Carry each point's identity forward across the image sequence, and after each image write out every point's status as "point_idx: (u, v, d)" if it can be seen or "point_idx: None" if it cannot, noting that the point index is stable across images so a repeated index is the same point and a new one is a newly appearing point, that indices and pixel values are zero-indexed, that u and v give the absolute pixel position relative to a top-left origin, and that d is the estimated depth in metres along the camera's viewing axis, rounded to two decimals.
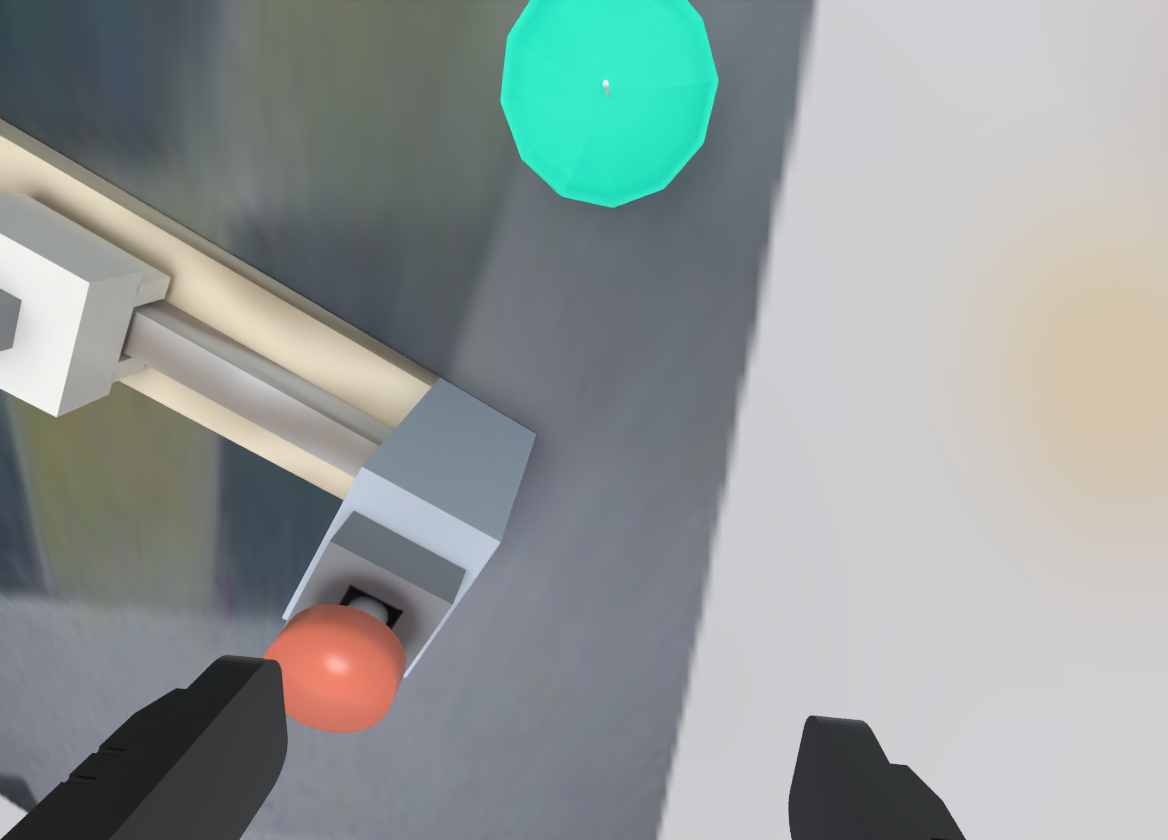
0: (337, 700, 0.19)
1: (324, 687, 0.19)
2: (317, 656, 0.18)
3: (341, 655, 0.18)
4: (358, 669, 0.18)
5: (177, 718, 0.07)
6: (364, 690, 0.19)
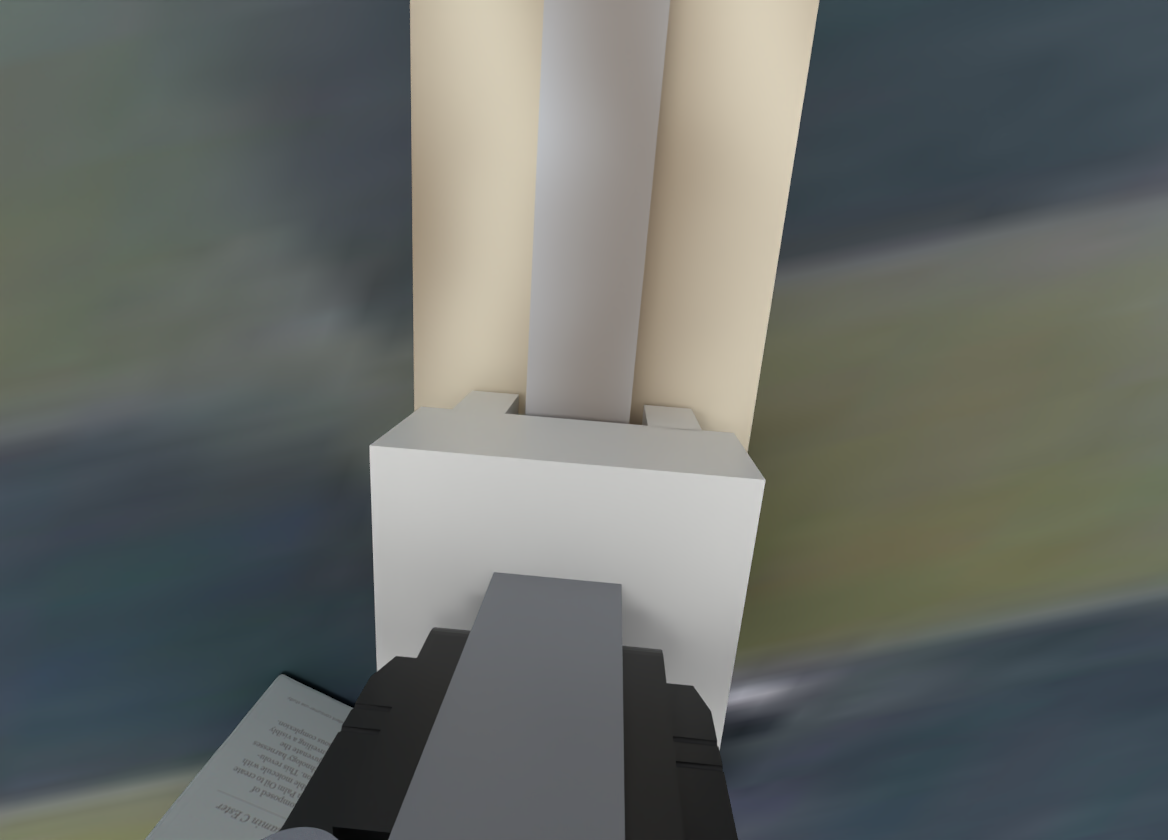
0: None
1: None
2: None
3: None
4: None
5: (424, 678, 0.08)
6: None
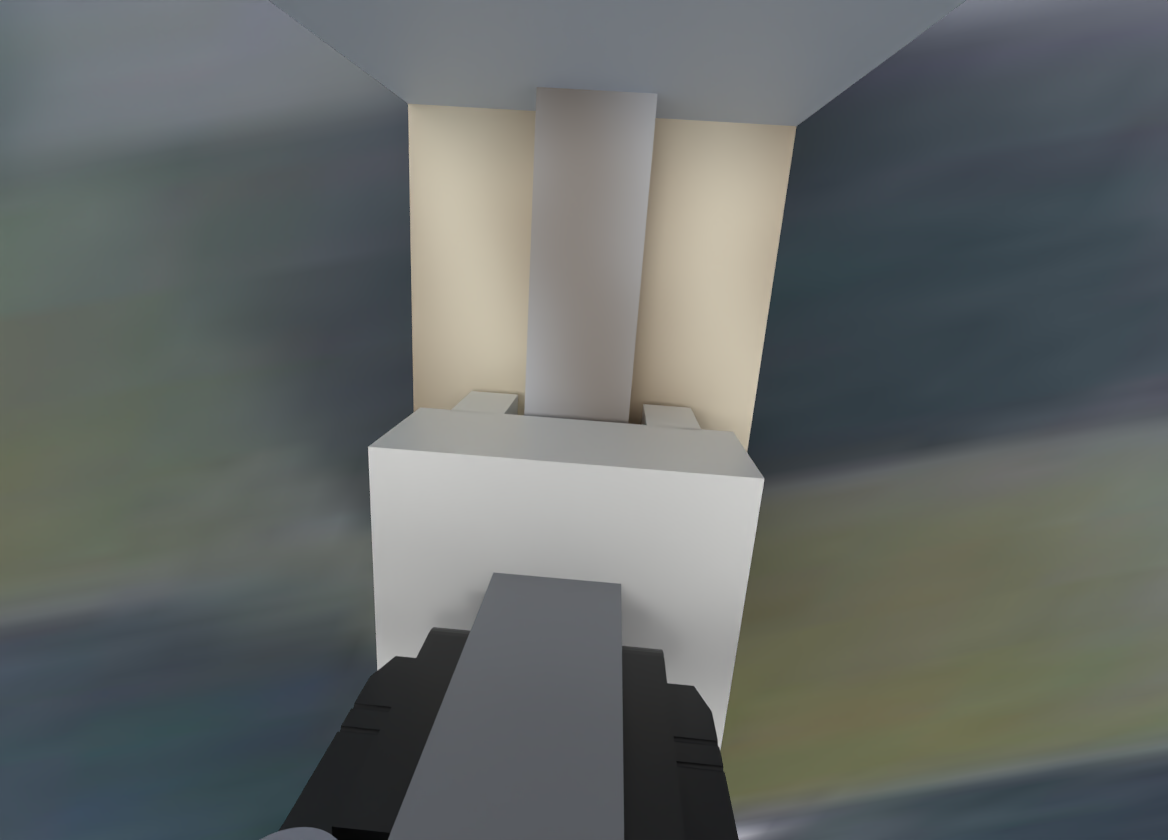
0: None
1: None
2: None
3: None
4: None
5: (424, 678, 0.08)
6: None
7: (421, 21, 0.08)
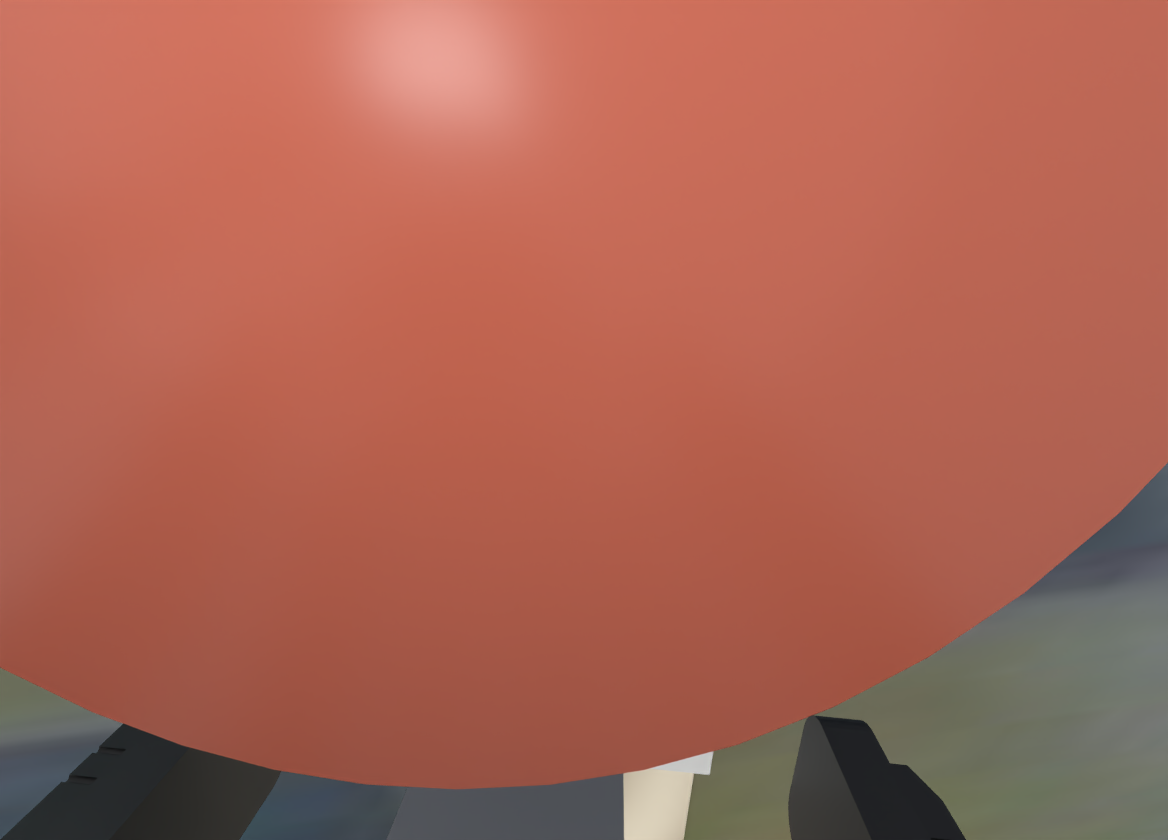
0: None
1: None
2: None
3: None
4: None
5: None
6: None
7: None
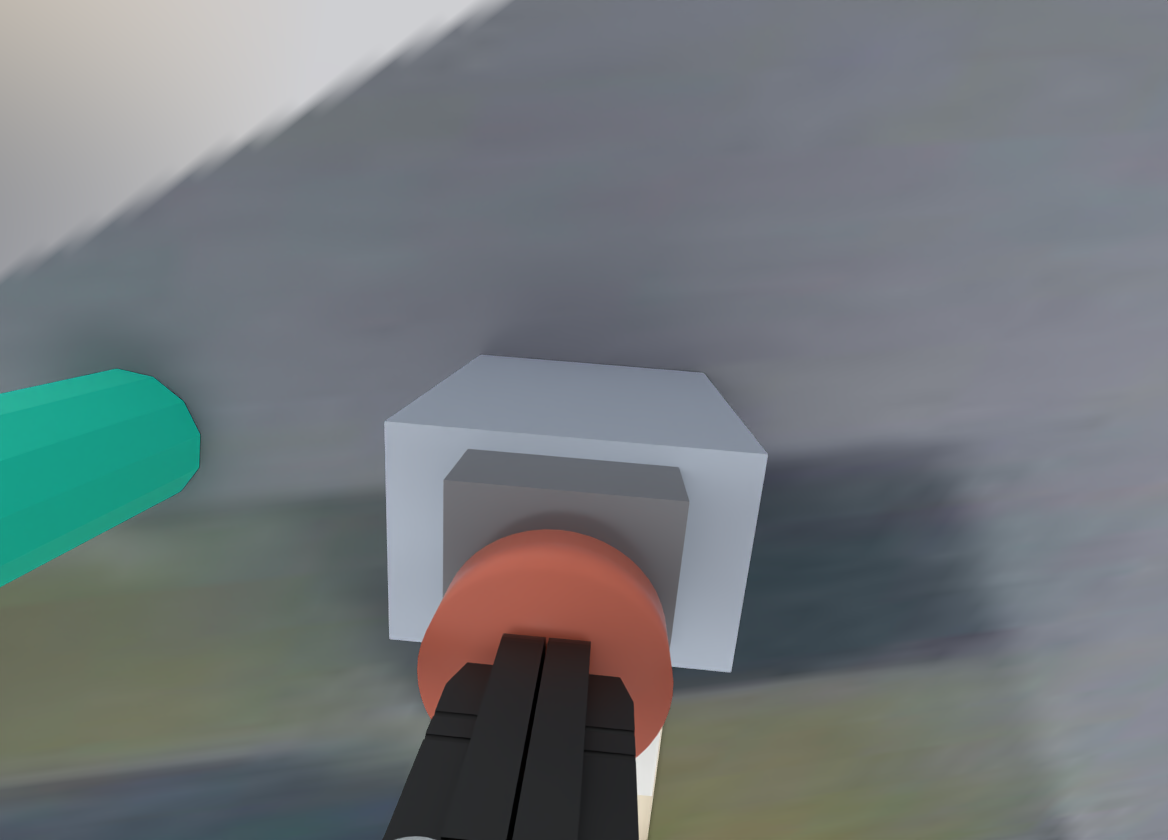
0: None
1: None
2: None
3: None
4: (466, 645, 0.10)
5: (505, 685, 0.08)
6: (511, 621, 0.09)
7: None
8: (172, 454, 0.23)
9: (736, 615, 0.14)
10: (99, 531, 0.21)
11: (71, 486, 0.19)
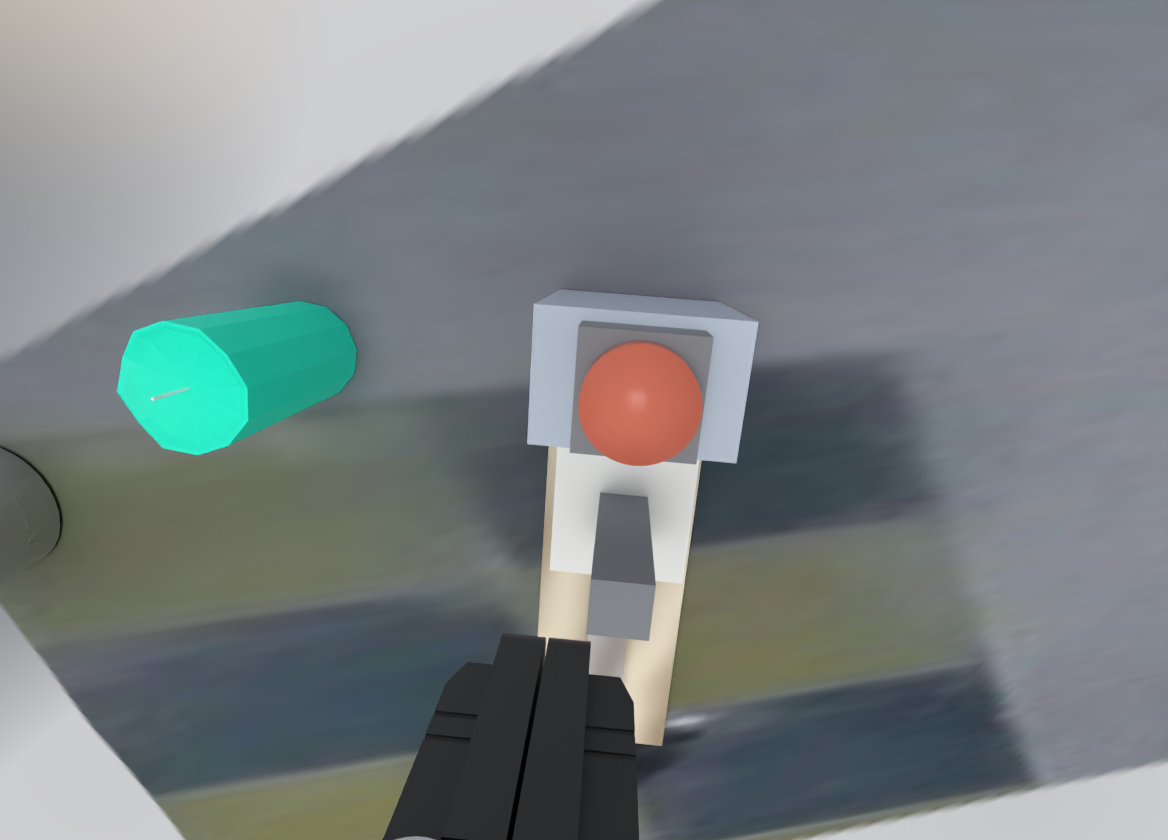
0: (652, 393, 0.20)
1: (641, 408, 0.20)
2: (607, 425, 0.21)
3: (594, 406, 0.20)
4: (603, 388, 0.20)
5: (504, 685, 0.08)
6: (625, 374, 0.20)
7: None
8: (343, 359, 0.33)
9: (739, 425, 0.24)
10: (304, 406, 0.31)
11: (302, 367, 0.29)
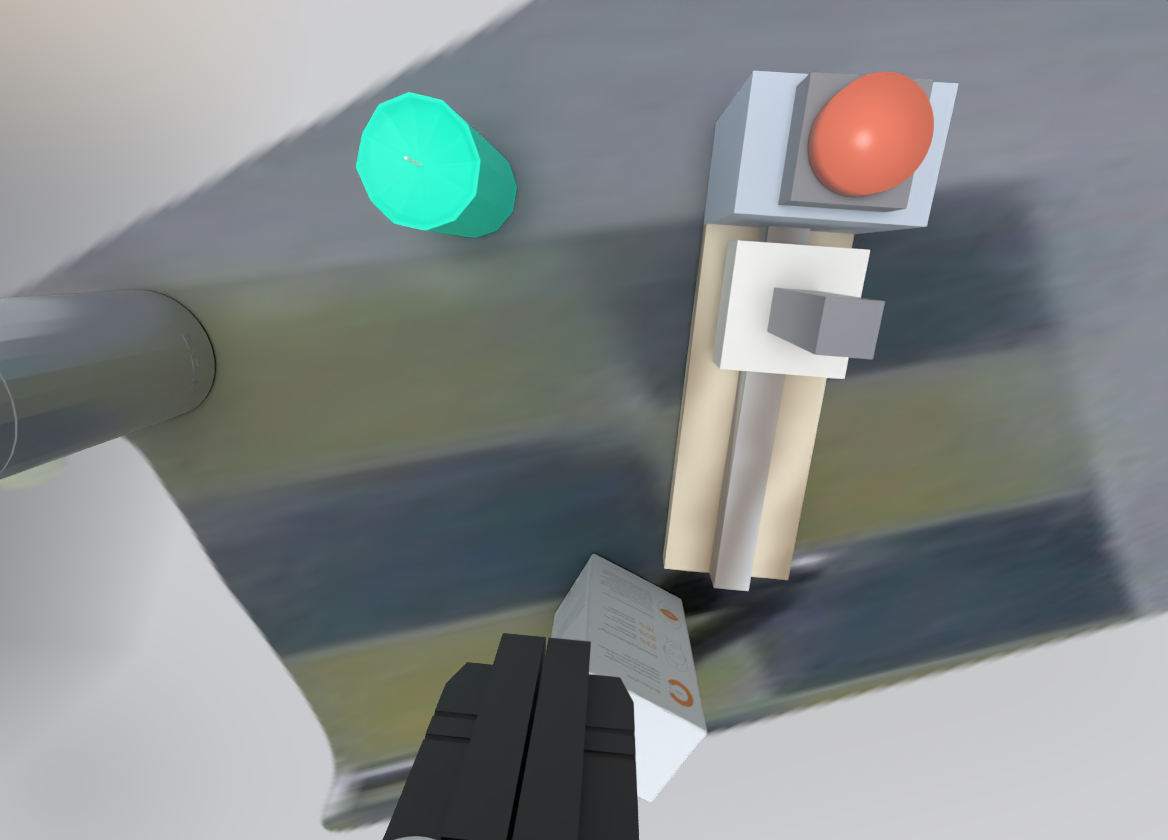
0: (889, 118, 0.23)
1: (878, 134, 0.23)
2: (844, 152, 0.23)
3: (835, 133, 0.23)
4: (845, 115, 0.23)
5: (504, 685, 0.08)
6: (866, 100, 0.22)
7: (759, 220, 0.30)
8: (511, 189, 0.35)
9: (932, 188, 0.26)
10: (485, 223, 0.33)
11: (498, 172, 0.31)
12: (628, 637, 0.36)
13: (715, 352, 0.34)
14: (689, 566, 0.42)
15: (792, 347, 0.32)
